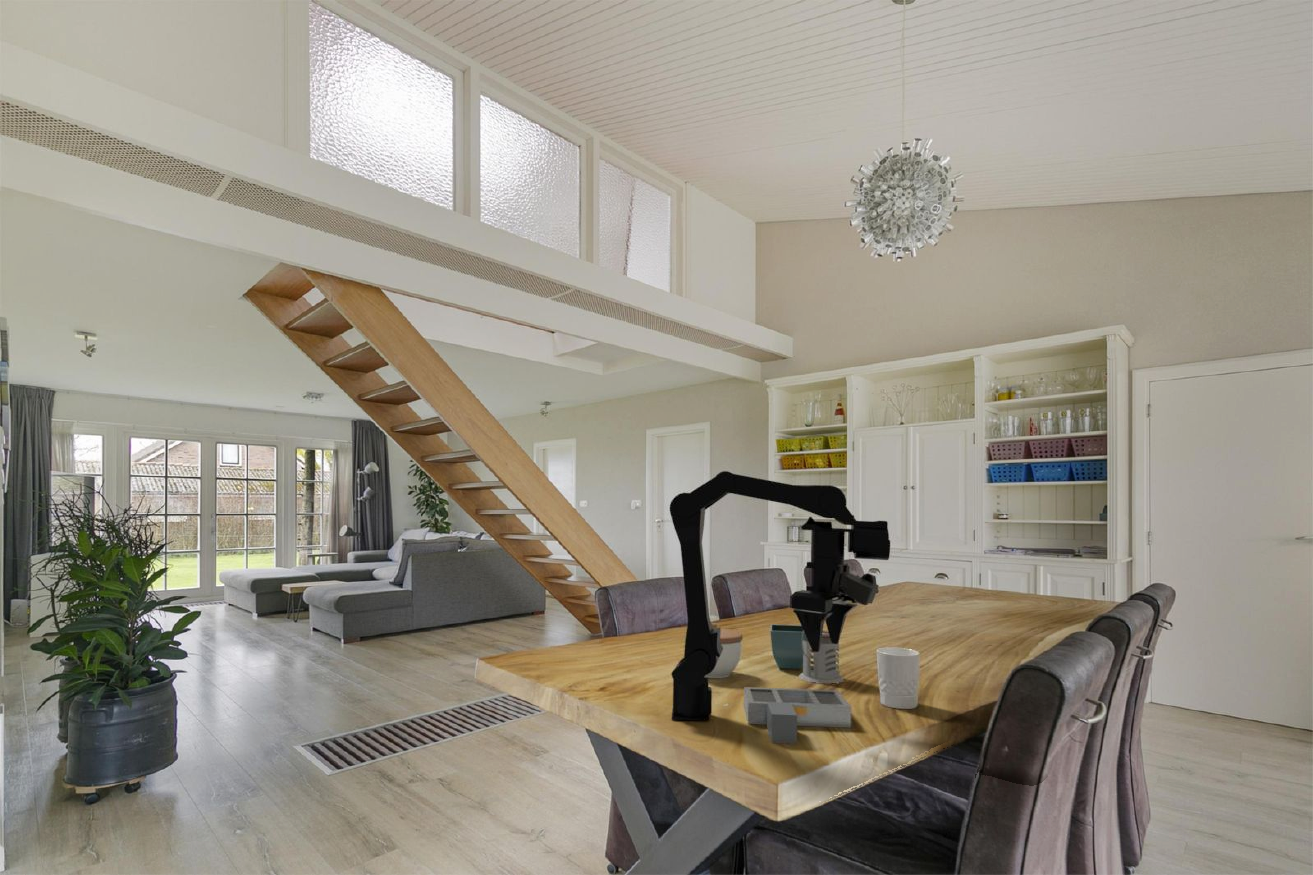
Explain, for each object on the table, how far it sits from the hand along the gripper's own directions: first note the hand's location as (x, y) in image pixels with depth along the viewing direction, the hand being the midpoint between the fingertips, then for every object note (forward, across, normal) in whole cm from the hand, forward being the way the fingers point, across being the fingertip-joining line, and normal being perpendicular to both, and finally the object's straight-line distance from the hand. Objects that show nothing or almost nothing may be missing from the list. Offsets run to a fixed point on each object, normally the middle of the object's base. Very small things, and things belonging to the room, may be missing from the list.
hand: (825, 647), depth 120 cm
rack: (+13, +2, +6) cm, 15 cm away
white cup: (+13, +22, -7) cm, 26 cm away
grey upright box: (+14, -9, +4) cm, 17 cm away
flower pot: (+14, +38, +23) cm, 46 cm away
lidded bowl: (+14, +20, +33) cm, 41 cm away
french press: (+13, +31, +13) cm, 36 cm away
